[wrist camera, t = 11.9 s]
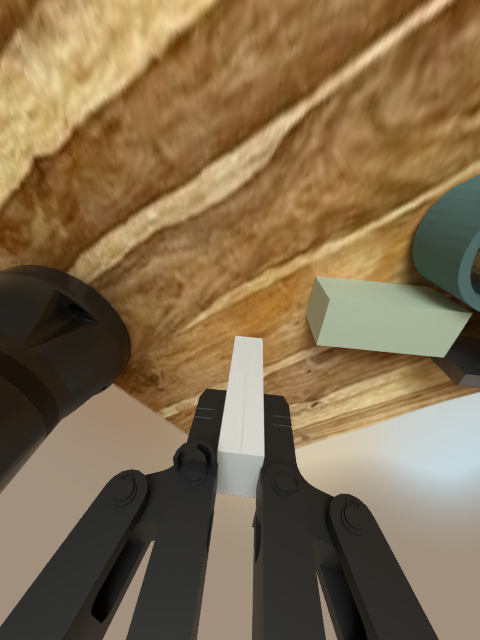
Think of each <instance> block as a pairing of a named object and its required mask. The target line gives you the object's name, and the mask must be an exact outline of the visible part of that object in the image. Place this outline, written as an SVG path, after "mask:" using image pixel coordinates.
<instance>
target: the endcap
mask: <svg viewBox="0 0 480 640" xmlns="http://www.w3.org/2000/svg"><path fill="white" fill-rule="evenodd" d="M470 279H471V286H472V288H473V290H474V291H475V292H477V293H479V294H480V267H471V274H470ZM429 357H430V358H431V359H432V360H433V361H434V362H435V363H436V364H437V365H438V366H439V367H440V368H441V369H442V371H443V372H444V373H445V374H446V375H447V376H448V377H449V378H450V379H451V380H452V381H453V382H454V383H455V384H456V385H457V386H466V387H476V388H480V338H471V337H461V336H458V337H457V338H456V340H455V341H454V343H453V344H452V346H451V347H450V349H449V350H448V352H447V353H446V355H445V356H444V358H443V357H433V356H429Z"/></svg>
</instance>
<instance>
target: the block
mask: <svg viewBox="0 0 480 640" xmlns="http://www.w3.org/2000/svg"><path fill="white" fill-rule="evenodd" d="M472 314H473V313H472V312H470V311H469V310H467V309H465V308H464V307H462V306H460V305H459V304H457V303H455V302H454V301H452V300H451V299H449V298H447V297H446V296H444V295H442V294H441V293H439V292H437V291H436V290H434V289H433V288H431V287H427V286H416V285H405V284H394V283H384V282H373V281H362V280H351V279H341V278H330V277H319V276H316V277H315V281H314V285H313V289H312V293H311V297H310V301H309V305H308V309H307V313H306V317H307V320H308V323H309V325H310V328H311V331H312V334H313V337H314V339H315V342H316V345H322V346H332V347H342V348H352V349H362V350H372V351H382V352H392V353H403V354H413V355H423V356H433V357H443V358H444V356H445V355H446V353H447V352H448V350H449V349H450V347H451V346H452V344H453V343H454V341H455V340H456V338H457V337H458V335H459V334H460V332H461V331H462V329H463V328H464V326H465V325H466V323H467V322H468V320H469V318H470V317H471V315H472Z"/></svg>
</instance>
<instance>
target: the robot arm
mask: <svg viewBox="0 0 480 640" xmlns="http://www.w3.org/2000/svg"><path fill="white" fill-rule="evenodd" d="M129 356H130V341H129V337H128V333H127V330H126V328H125V326H124V324H123V322H122V320H121V318H120V317H119V315H118V314H117V312H116V311H115V310H114V309H113V307H112V306H111V305H110V304H109V303H108V302H107V301H106V300H105V299H104V298H103V297H102V296H101V295H100V294H99V293H98V292H96V291H95V290H94V289H92V288H91V287H90V286H88V285H87V284H85V283H84V282H82V281H80V280H79V279H77V278H75V277H73V276H71V275H69V274H66V273H64V272H61V271H58V270H55V269H52V268H48V267H43V266H36V265H23V266H16V267H12V268H9V269H6V270H3V271H0V493H1V492H2V491H3V490H4V488H5V487H6V486H7V485H8V484H9V482H10V481H11V480H12V479H13V478H14V476H15V475H16V474H17V473H18V471H19V470H20V469H21V468H22V467H23V465H24V464H25V463H26V462H27V461H28V459H29V458H30V457H31V456H32V454H33V453H34V452H35V451H36V450H37V448H38V447H39V446H40V445H41V443H42V442H43V441H44V440H45V439H46V437H47V436H48V435H49V434H50V433H51V432H52V430H53V429H54V428H55V427H56V426H57V424H58V423H59V422H60V421H61V420H62V419H63V418H65V417H66V416H68V415H69V414H70V413H72V412H73V411H75V410H76V409H77V408H78V407H80V406H81V405H82V404H84V403H85V402H86V401H87V400H88V399H90V398H91V397H92V396H94V395H96V394H98V393H100V392H102V391H104V390H105V389H107V388H108V387H109V386H110V385H111V384H112V383H113V382H114V381H115V380H116V379H117V377H118V376H119V375H120V373H121V372H122V371H123V369H124V368H125V366H126V365H127V363H128V360H129ZM173 461H174V466H172V467H170V468H169V469H166V470H164V471H160V472H156V473H152V474H148V475H144V474H142V473H141V472H140V471H138V470H132V469H131V470H126V471H122V472H121V473H119V474H118V475H116V476H114V477H113V478H112V479H111V480H110V481H109V482H108V483H107V484H106V485H105V487H104V488H103V489H102V491H101V492H100V493H99V495H98V496H97V498H96V499H95V500H94V502H93V503H92V504H91V506H90V507H89V508H88V510H87V511H86V513H85V514H84V515H83V516H82V518H81V519H80V520H79V522H78V523H77V524H76V526H75V527H74V528H73V530H72V531H71V533H70V534H69V535H68V537H67V538H66V539H65V541H64V542H63V543H62V545H61V546H60V547H59V549H58V550H57V551H56V553H55V554H54V555H53V557H52V558H51V559H50V561H49V562H48V563H47V565H46V566H45V568H44V569H43V570H42V572H41V573H40V574H39V576H38V577H37V578H36V580H35V581H34V582H33V584H32V585H31V586H30V588H29V589H28V590H27V592H26V593H25V594H24V596H23V597H22V599H21V600H20V601H19V602H18V604H17V605H16V607H15V608H14V609H13V611H12V612H11V613H10V615H9V616H8V617H7V619H6V620H5V621H4V623H3V624H2V625H1V627H0V640H102V639H103V637H104V635H105V633H106V631H107V629H108V627H109V625H110V623H111V621H112V619H113V617H114V615H115V613H116V611H117V609H118V607H119V605H120V603H121V601H122V599H123V597H124V595H125V593H126V591H127V589H128V587H129V585H130V583H131V581H132V579H133V577H134V575H135V573H136V571H137V569H138V567H139V565H140V563H141V561H142V558H143V557H144V555H145V552H146V551H147V548H148V547H149V544H150V543H151V541H154V540H155V542H154V546H153V549H152V552H151V556H150V559H149V563H148V566H147V569H146V573H145V576H144V580H143V583H142V587H141V590H140V593H139V597H138V600H137V604H136V607H135V611H134V614H133V618H132V621H131V624H130V628H129V632H128V635H127V638H126V640H197V633H198V626H199V618H200V611H201V604H202V596H203V589H204V582H205V574H206V567H207V560H208V552H209V545H210V537H211V530H212V523H213V516H214V503H215V497H216V493H220V494H228V495H237V496H245V497H253V498H255V497H256V512H255V516H254V521H253V526H252V527H254V563H253V565H254V566H253V616H252V640H326V637H325V631H324V623H323V616H322V610H321V602H320V595H319V588H318V581H317V575H318V578H319V581H320V585H321V588H322V591H323V594H324V598H325V601H326V604H327V607H328V611H329V613H330V617H331V620H332V623H333V626H334V630H335V633H336V636H337V639H338V640H439V639H438V637H437V635H436V634H435V632H434V630H433V628H432V626H431V624H430V622H429V620H428V619H427V616H426V615H425V613H424V611H423V609H422V607H421V605H420V603H419V602H418V599H417V598H416V596H415V594H414V592H413V590H412V588H411V586H410V584H409V582H408V581H407V579H406V577H405V575H404V573H403V571H402V569H401V567H400V565H399V564H398V562H397V560H396V558H395V556H394V554H393V552H392V550H391V548H390V547H389V545H388V543H387V541H386V539H385V537H384V535H383V533H382V531H381V530H380V528H379V526H378V524H377V522H376V520H375V518H374V516H373V515H372V513H371V512H370V511H369V509H368V507H367V506H366V505H365V504H363V502H362V501H360V500H359V499H358V498H356V497H354V496H352V495H350V494H339V495H337V496H335V497H333V496H331V495H329V494H327V493H324V492H322V491H320V490H318V489H316V488H315V487H313V486H312V485H310V484H309V483H308V482H307V481H306V480H305V479H304V478H303V476H302V475H301V474H300V472H299V470H298V467H297V463H296V457H295V449H294V441H293V433H292V428H291V419H290V410H289V405H288V403H287V402H286V400H285V398H284V397H283V396H278V395H268V394H263V342H262V339H261V338H251V337H241V336H236V337H235V343H234V349H233V356H232V362H231V368H230V375H229V381H228V387H227V391H225V390H216V389H206V390H205V391H204V392H203V393H202V395H201V396H200V397H199V401H198V405H197V409H196V412H195V415H194V419H193V422H192V426H191V429H190V433H189V437H188V440H187V443H184V444H183V445H182V446H181V447H180V448H179V449H177V451H176V453H175V455H174V457H173ZM316 572H317V575H316Z"/></svg>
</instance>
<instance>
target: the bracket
mask: <svg viewBox="0 0 480 640" xmlns="http://www.w3.org/2000/svg"><path fill="white" fill-rule="evenodd" d="M479 248H480V174H479V175H477V176H475V177H473V178H471V179H469V180H467V181H465V182H463V183H462V184H460V185H458V186H456V187H454V188H452V189H450V190H449V191H448V192H447V193H445V194H444V195H443V196H442V197H441V198H440V199H439V200H438V201H437V202H436V203H435V204H434V205H433V206H432V207H431V208H430V210H429V211H428V212H427V214H426V215H425V216H424V218H423V220H422V221H421V223H420V225H419V227H418V229H417V232H416V234H415V237H414V241H413V246H412V258H413V262H414V265H415V267H416V269H417V271H418V272H419V273H420V274H421V276H422V277H424V278H425V279H427V280H428V281H430V282H431V283H433V284H435V285H436V286H438V287H440V288H441V289H443V290H444V291H446V292H448V293H449V294H451V295H453V296H454V297H456V298H457V299H459V300H461V301H462V302H464V303H466V304H467V305H469V306H471V307H472V308H474V309H476V310H477V311H480V294H479V293H477V292H475V291H474V290H473V288H472V286H471V279H470V274H471V266H472V263H473V261H474V258H475V255H476V253H477V251H478V250H479Z"/></svg>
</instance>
